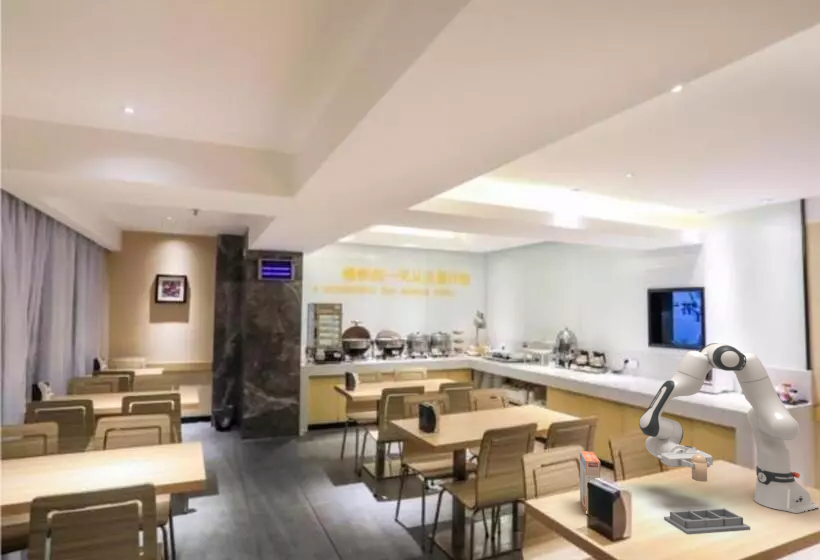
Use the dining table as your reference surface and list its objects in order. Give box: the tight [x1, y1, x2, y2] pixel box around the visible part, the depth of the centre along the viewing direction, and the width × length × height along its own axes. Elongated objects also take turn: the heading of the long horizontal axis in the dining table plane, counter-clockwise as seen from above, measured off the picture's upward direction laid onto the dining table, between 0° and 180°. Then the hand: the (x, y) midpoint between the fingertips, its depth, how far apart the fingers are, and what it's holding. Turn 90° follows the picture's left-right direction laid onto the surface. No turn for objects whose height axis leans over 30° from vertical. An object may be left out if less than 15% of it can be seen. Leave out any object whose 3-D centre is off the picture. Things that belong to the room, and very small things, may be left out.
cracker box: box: [579, 450, 601, 513], centre depth 191 cm, size 14×6×21 cm, turn 168°
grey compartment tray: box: [663, 508, 751, 535], centre depth 177 cm, size 26×12×4 cm, turn 99°
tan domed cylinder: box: [691, 454, 708, 483], centre depth 187 cm, size 5×5×10 cm
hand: (700, 465), depth 186 cm, fingers closed on tan domed cylinder, 5 cm apart
